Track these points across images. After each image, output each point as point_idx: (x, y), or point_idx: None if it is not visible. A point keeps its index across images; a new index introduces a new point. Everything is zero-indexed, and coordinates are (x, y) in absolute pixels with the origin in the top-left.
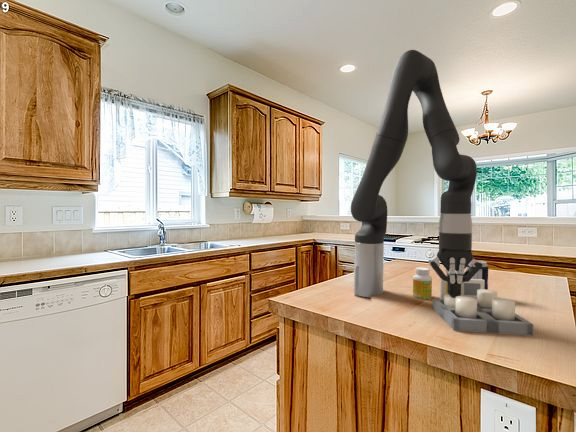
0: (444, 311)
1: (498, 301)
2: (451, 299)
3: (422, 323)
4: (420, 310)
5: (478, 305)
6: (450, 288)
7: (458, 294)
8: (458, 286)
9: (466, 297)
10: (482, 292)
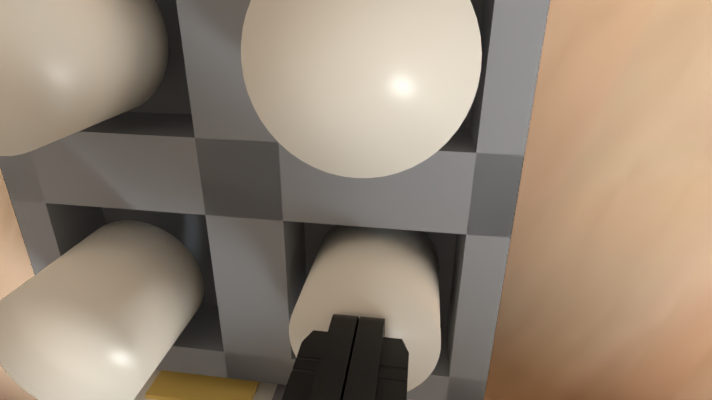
0: (525, 134)
1: (19, 5)
2: (406, 288)
3: (677, 104)
4: (551, 349)
5: (195, 277)
6: (395, 390)
7: (329, 331)
8: (313, 392)
9: (329, 129)
10: (109, 324)
